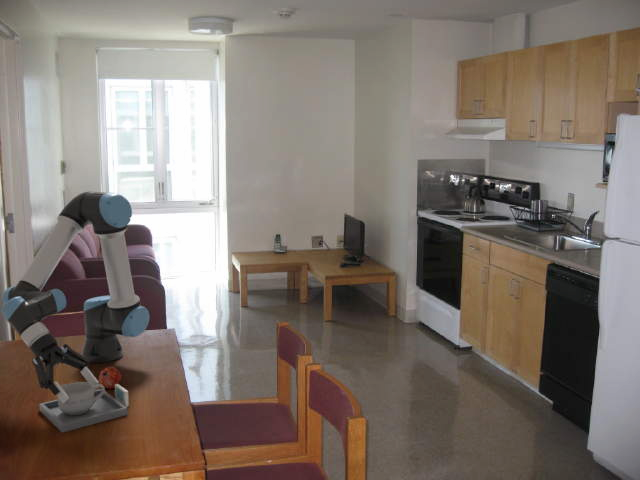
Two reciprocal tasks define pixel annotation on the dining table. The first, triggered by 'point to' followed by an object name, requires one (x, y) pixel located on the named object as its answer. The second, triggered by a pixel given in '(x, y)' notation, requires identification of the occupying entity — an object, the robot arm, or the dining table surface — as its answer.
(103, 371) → the pomegranate
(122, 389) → the tag
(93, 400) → the teacup
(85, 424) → the tray
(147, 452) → the dining table surface
